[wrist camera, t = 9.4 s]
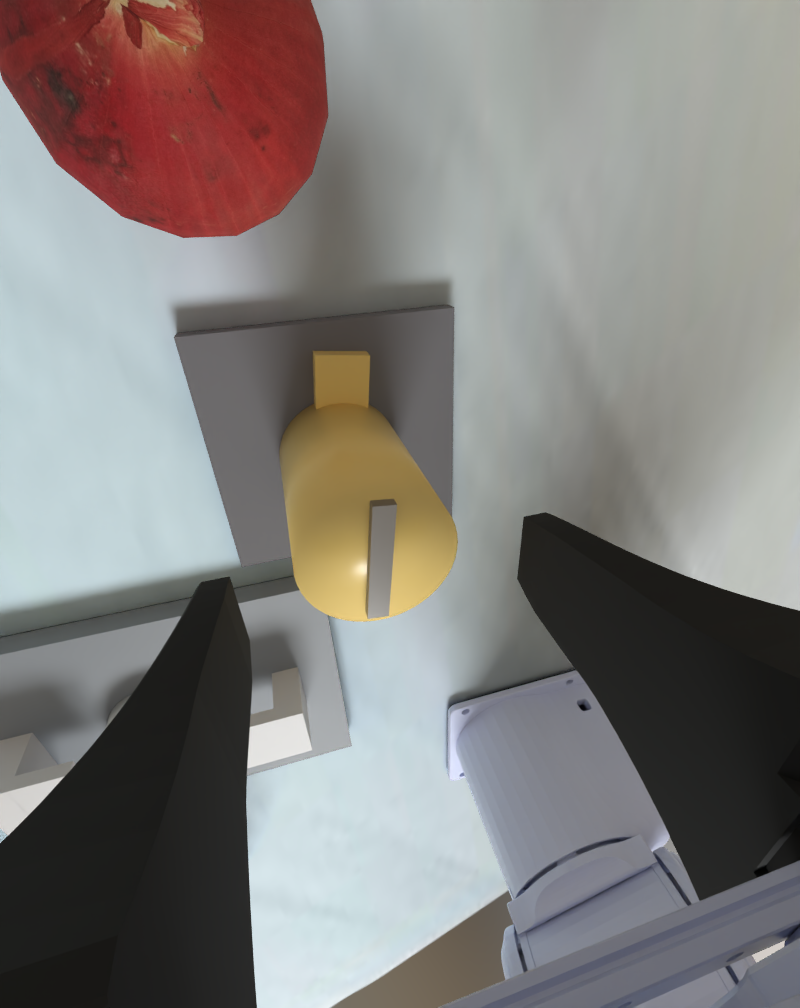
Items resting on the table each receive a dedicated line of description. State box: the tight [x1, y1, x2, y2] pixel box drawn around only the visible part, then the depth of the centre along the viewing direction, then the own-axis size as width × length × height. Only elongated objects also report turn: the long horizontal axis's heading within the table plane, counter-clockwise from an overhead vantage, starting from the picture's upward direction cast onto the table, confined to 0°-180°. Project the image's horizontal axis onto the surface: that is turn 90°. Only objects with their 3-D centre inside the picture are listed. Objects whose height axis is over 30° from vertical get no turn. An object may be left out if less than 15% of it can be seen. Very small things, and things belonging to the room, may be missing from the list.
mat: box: [174, 305, 454, 567], centre depth 18 cm, size 9×9×1 cm
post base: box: [0, 576, 352, 835], centre depth 21 cm, size 16×12×4 cm
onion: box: [0, 0, 328, 238], centre depth 9 cm, size 6×6×8 cm
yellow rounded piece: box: [279, 351, 458, 621], centre depth 15 cm, size 8×4×7 cm, turn 175°
